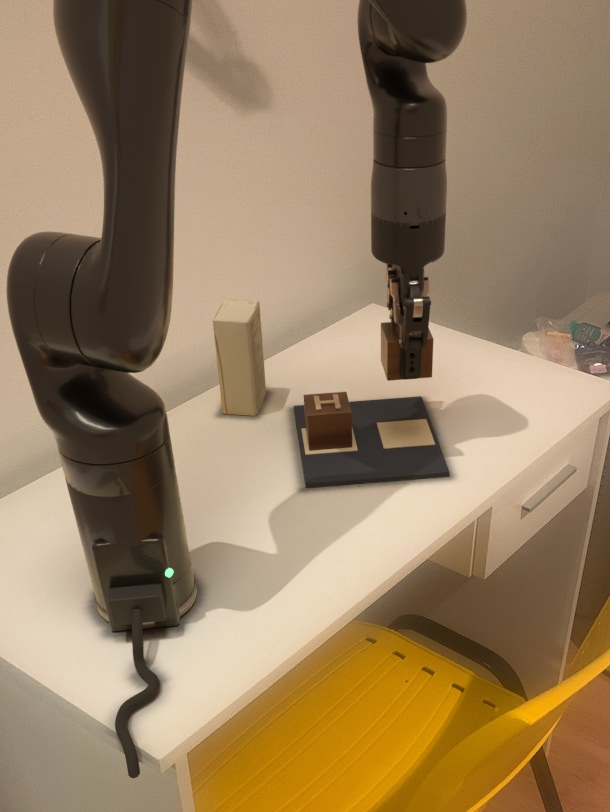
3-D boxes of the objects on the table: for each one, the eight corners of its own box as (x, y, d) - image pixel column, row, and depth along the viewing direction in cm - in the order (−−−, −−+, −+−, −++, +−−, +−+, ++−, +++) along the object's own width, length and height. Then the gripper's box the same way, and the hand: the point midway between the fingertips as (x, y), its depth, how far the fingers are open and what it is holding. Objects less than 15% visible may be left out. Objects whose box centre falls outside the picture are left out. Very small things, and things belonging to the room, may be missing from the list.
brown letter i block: (432, 377, 106) (433, 336, 102) (387, 381, 105) (387, 340, 102) (424, 357, 109) (425, 317, 106) (380, 360, 109) (380, 320, 106)
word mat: (449, 476, 106) (449, 471, 106) (305, 488, 105) (305, 482, 105) (421, 400, 120) (421, 395, 119) (293, 409, 118) (293, 404, 118)
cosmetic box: (234, 391, 122) (224, 297, 114) (268, 393, 122) (260, 299, 114) (221, 415, 118) (210, 319, 110) (257, 417, 117) (248, 321, 109)
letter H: (352, 447, 110) (351, 410, 107) (309, 450, 110) (307, 413, 107) (347, 426, 114) (346, 389, 111) (305, 429, 113) (303, 392, 110)
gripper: (361, 186, 101) (364, 341, 112) (381, 233, 90) (381, 399, 101) (432, 182, 101) (427, 336, 113) (460, 229, 91) (451, 394, 102)
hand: (405, 365), depth 107 cm, fingers closed on brown letter i block, 5 cm apart
